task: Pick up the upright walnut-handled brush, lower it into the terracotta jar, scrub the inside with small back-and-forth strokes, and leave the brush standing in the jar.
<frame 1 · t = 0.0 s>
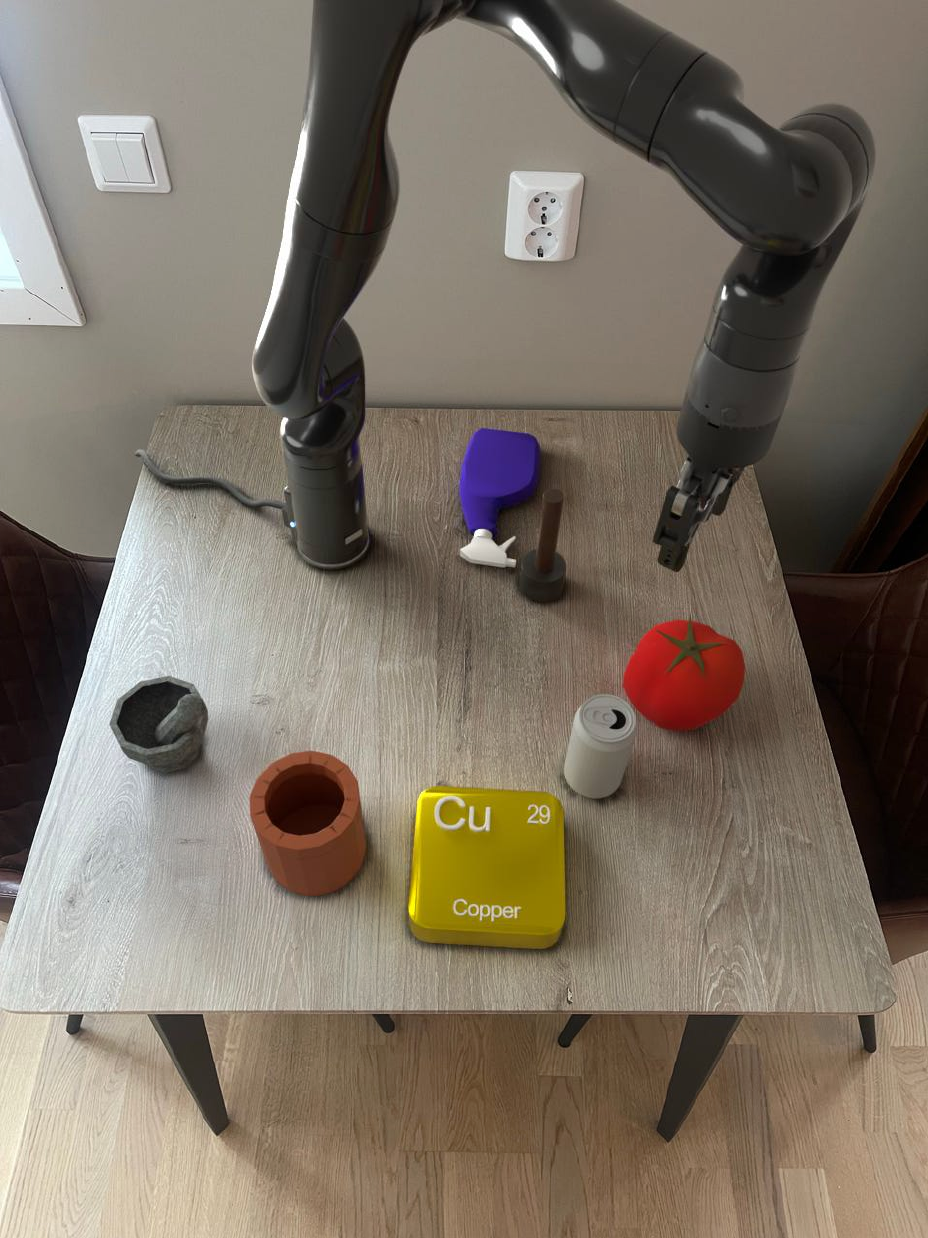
hand: (690, 537, 84), 29 cm above the table, tool pointing down, fingers open, 8 cm apart
spray bottle: (495, 504, 128), on the table
beverage can: (591, 776, 102), on the table
mortar and pestle: (178, 750, 102), on the table
jar: (316, 848, 96), on the table
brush: (541, 585, 118), on the table
tomato: (673, 703, 108), on the table
element tile: (486, 874, 94), on the table
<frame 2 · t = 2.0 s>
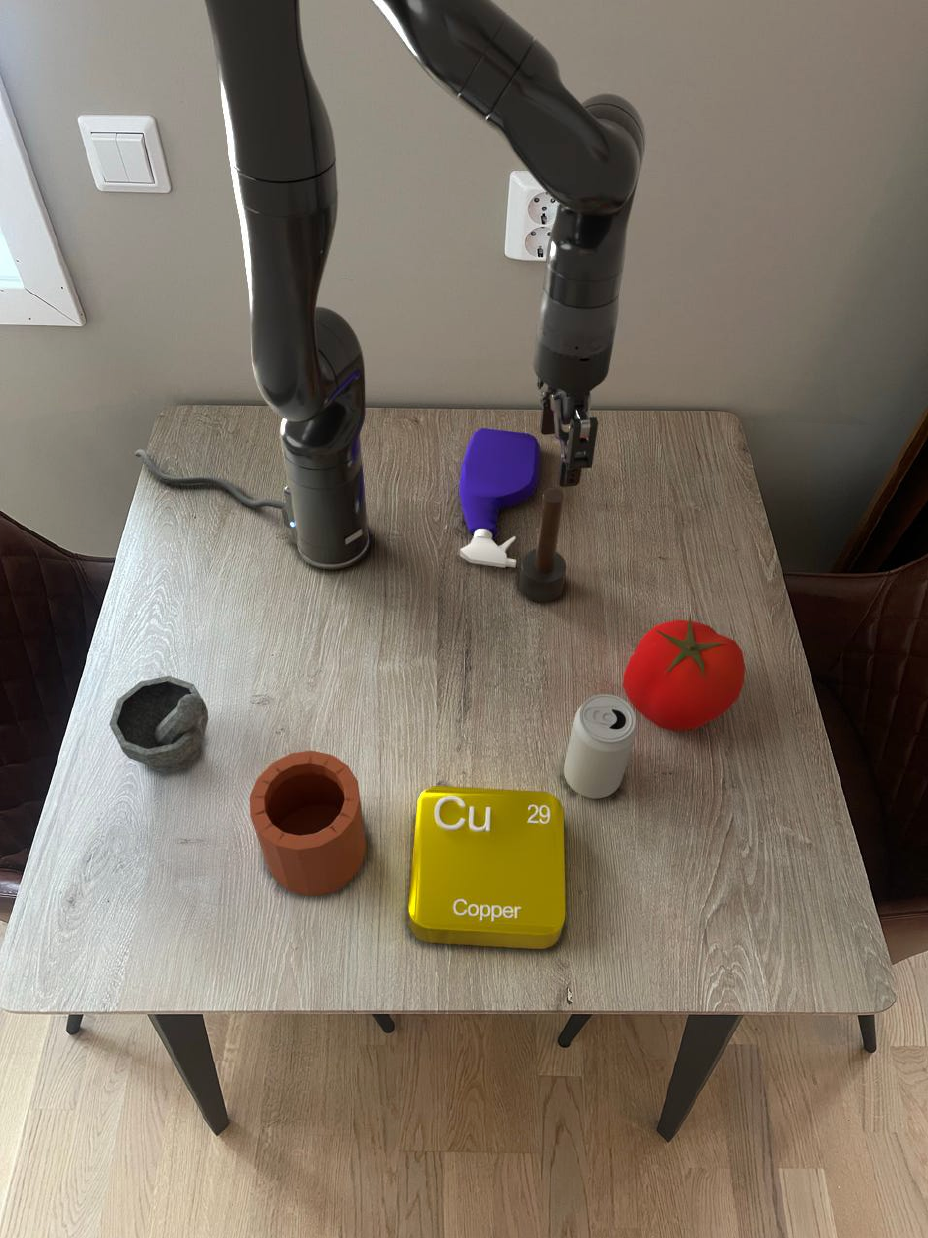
hand: (558, 457, 101), 22 cm above the table, tool pointing down, fingers open, 8 cm apart
nothing on the table moved.
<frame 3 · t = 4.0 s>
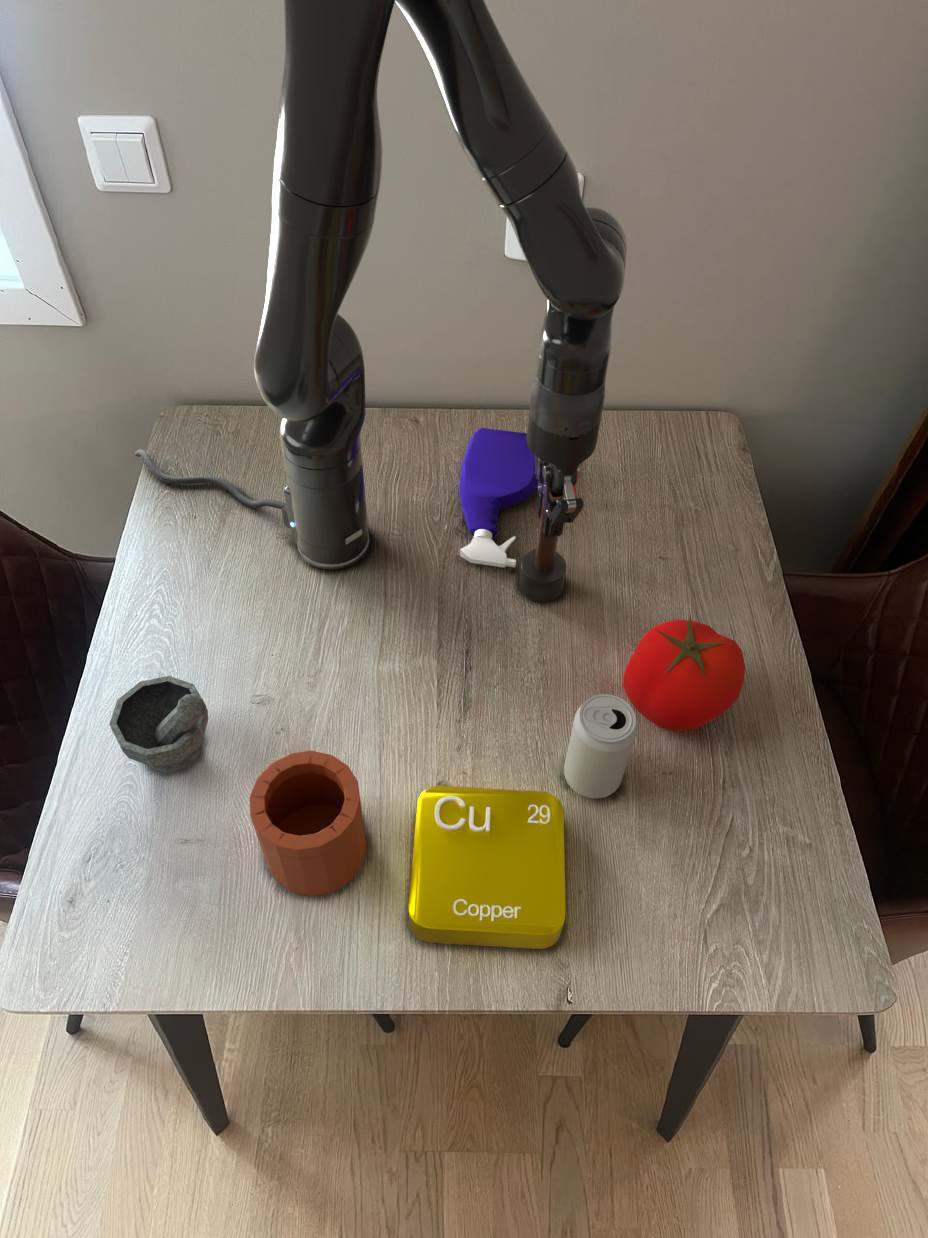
hand: (549, 525, 110), 11 cm above the table, tool pointing down, fingers closed on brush, 2 cm apart
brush: (540, 585, 118), on the table, touching gripper
everything else where it was.
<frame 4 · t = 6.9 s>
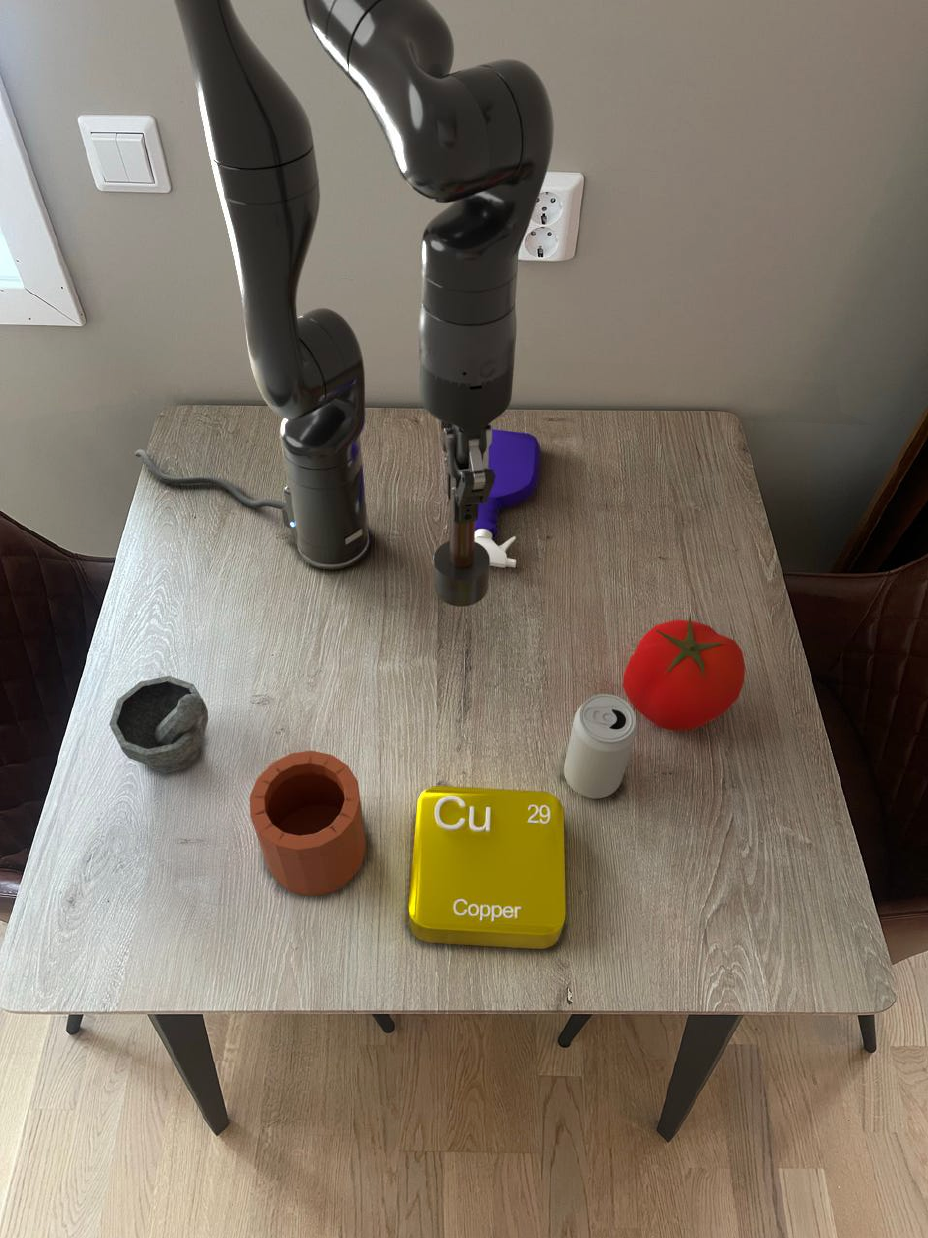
hand: (462, 508, 86), 29 cm above the table, tool pointing down, fingers closed on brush, 2 cm apart
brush: (460, 585, 94), point 18 cm above the table, touching gripper
everything else where it was.
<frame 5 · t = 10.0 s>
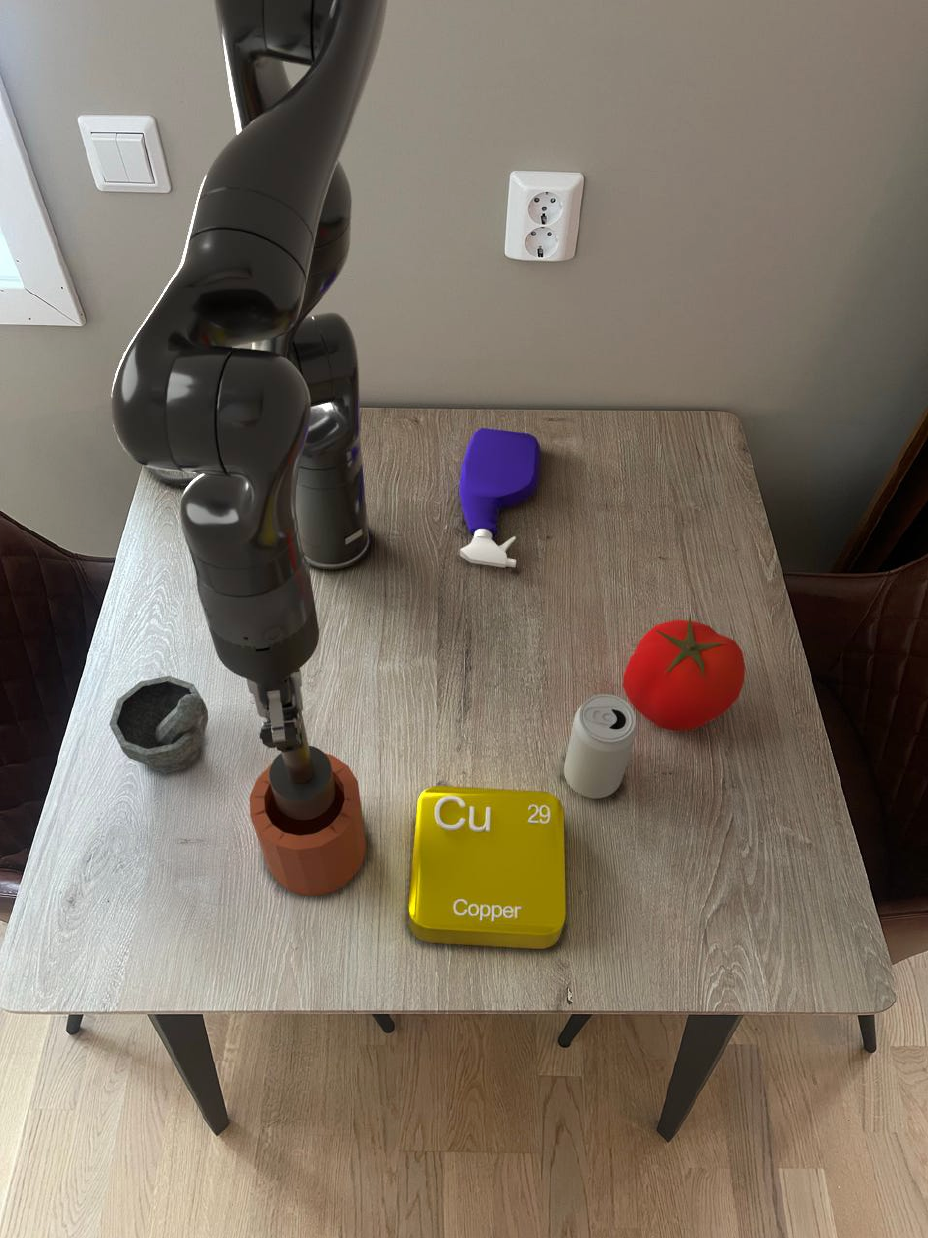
hand: (289, 731, 78), 23 cm above the table, tool pointing down, fingers closed on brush, 2 cm apart
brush: (305, 793, 86), point 12 cm above the table, touching gripper
everything else where it was.
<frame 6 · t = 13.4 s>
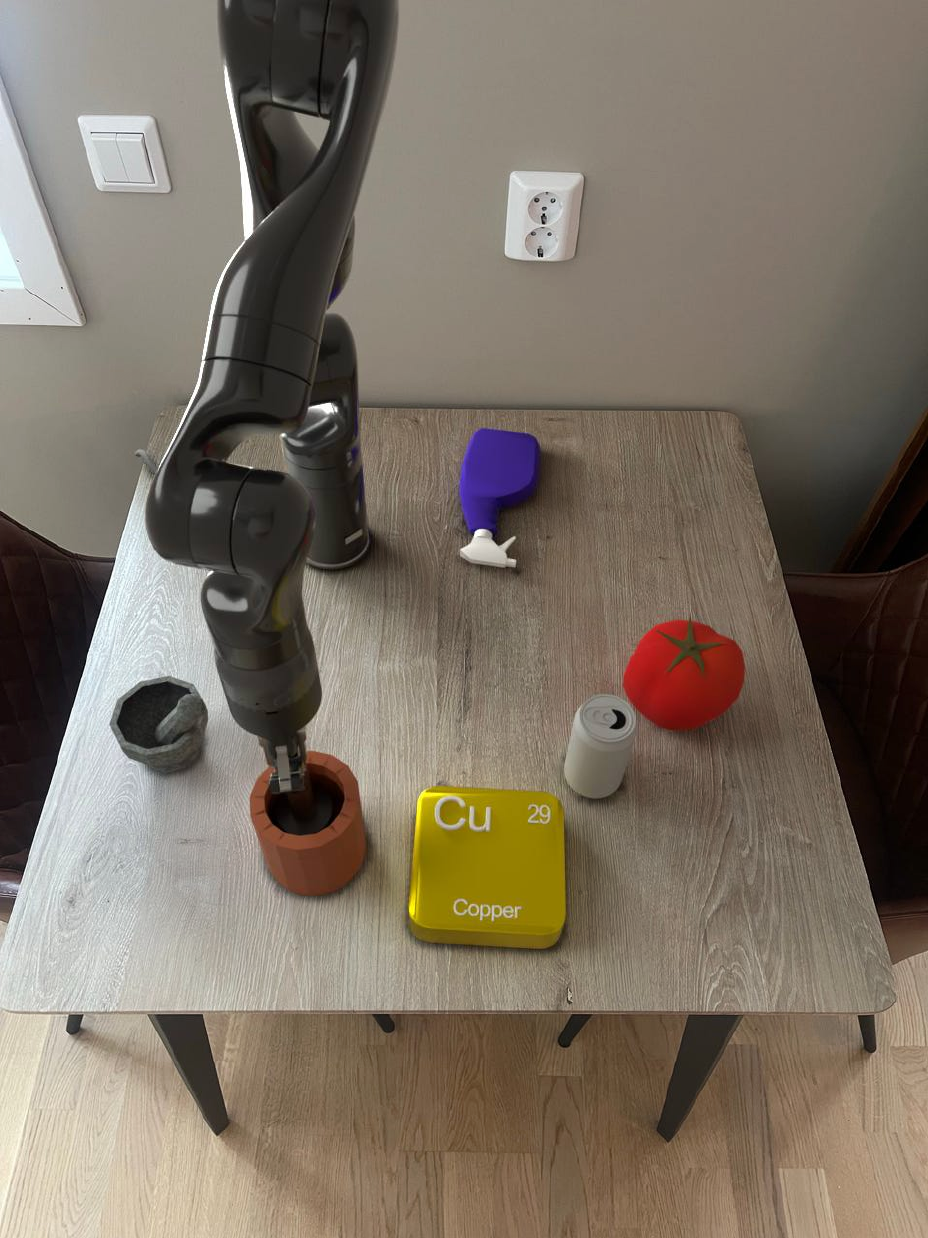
hand: (294, 775, 86), 14 cm above the table, tool pointing down, fingers closed on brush, 2 cm apart
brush: (308, 827, 94), point 2 cm above the table, touching gripper
everything else where it was.
when the fingers open (12 cm above the table, at t = 16.1 s): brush stays where it is, resting on jar.
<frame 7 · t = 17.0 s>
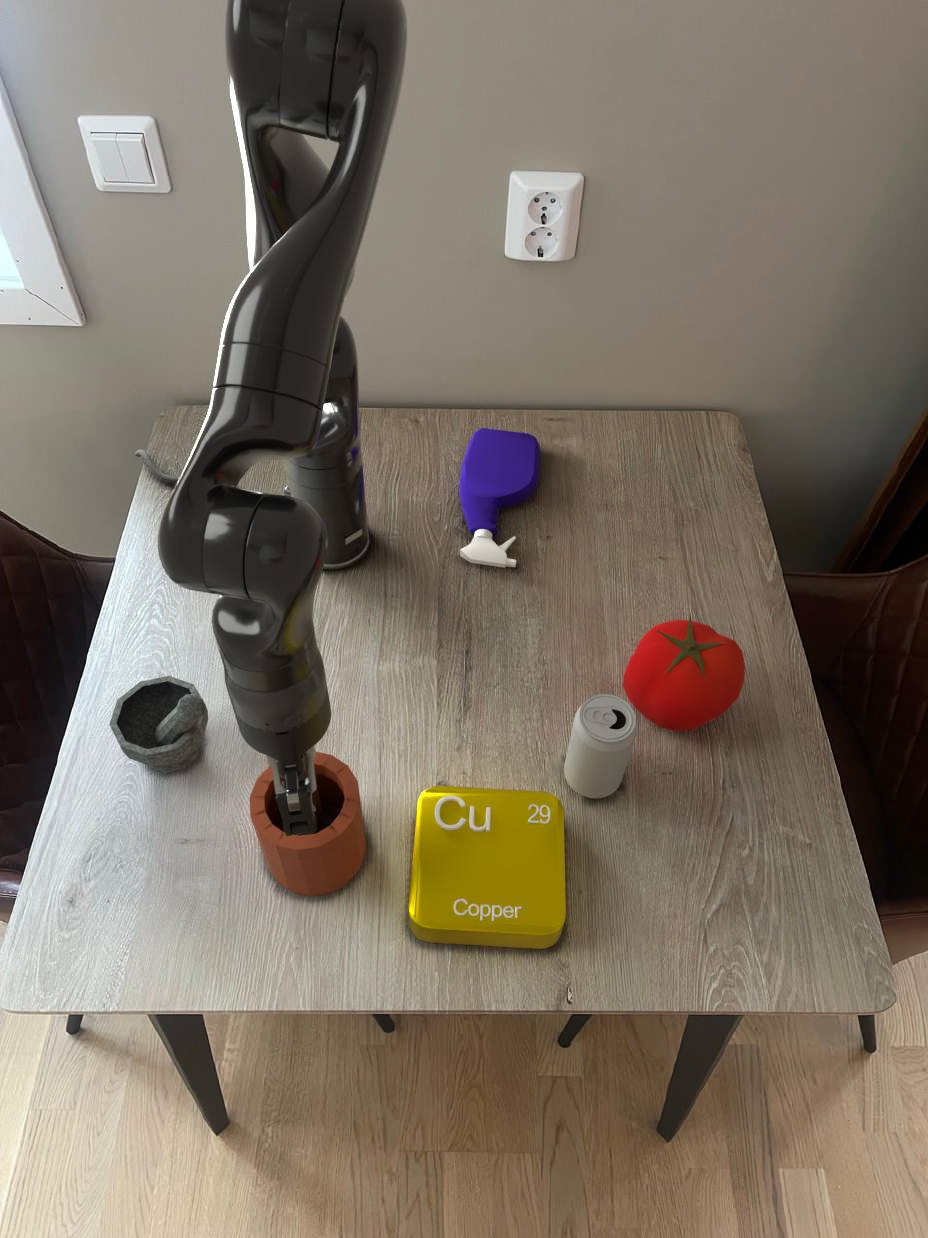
hand: (301, 786, 85), 13 cm above the table, tool pointing down, fingers open, 8 cm apart
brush: (317, 845, 95), point 1 cm above the table, touching jar
everything else where it was.
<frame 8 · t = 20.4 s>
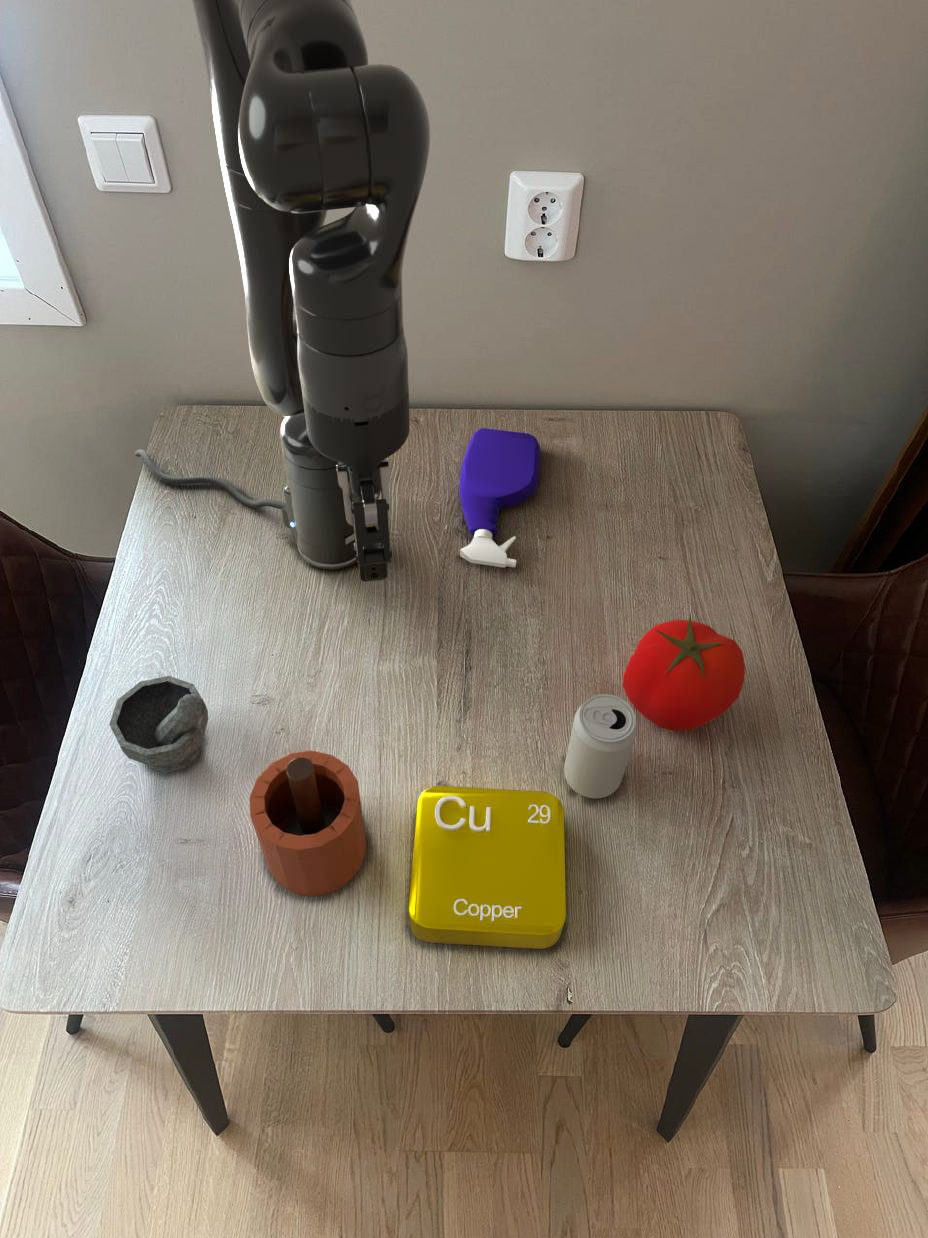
hand: (367, 539, 78), 33 cm above the table, tool pointing down, fingers open, 8 cm apart
nothing on the table moved.
at the end: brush 0.1 cm off-centre in the jar, point 0.6 cm above the jar's base; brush tilted 0°; the gripper is holding nothing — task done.
